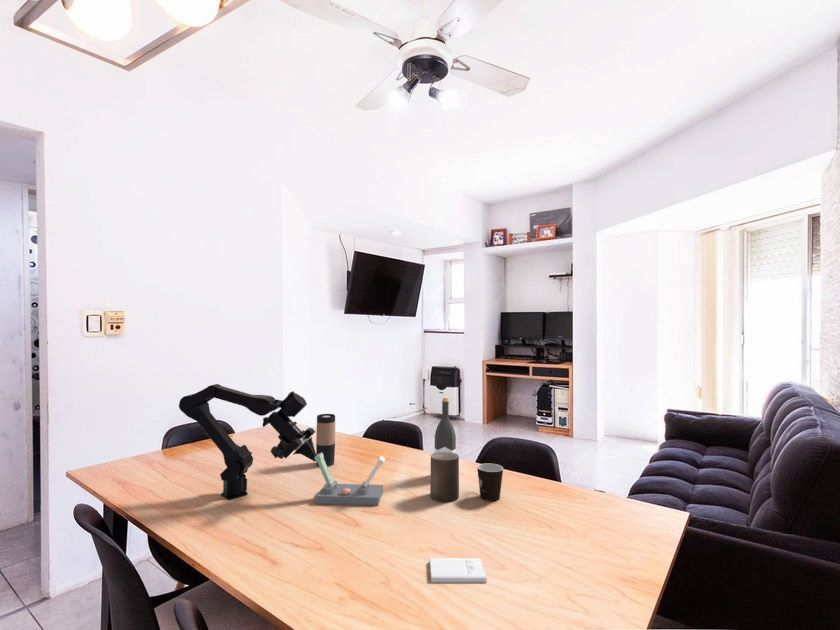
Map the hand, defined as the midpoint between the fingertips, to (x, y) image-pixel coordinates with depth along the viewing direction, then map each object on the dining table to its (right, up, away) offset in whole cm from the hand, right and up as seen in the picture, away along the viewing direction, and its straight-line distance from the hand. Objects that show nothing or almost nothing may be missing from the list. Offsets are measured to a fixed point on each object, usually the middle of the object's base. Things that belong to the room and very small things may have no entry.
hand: (316, 460), depth 142 cm
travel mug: (-4, -13, +34) cm, 36 cm away
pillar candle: (+43, -13, +1) cm, 45 cm away
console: (+12, -12, -1) cm, 17 cm away
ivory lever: (+16, -8, -1) cm, 18 cm away
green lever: (+5, -8, 0) cm, 10 cm away
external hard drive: (+43, -12, -43) cm, 62 cm away
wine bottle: (+44, -13, +20) cm, 50 cm away
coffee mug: (+59, -13, +2) cm, 60 cm away
